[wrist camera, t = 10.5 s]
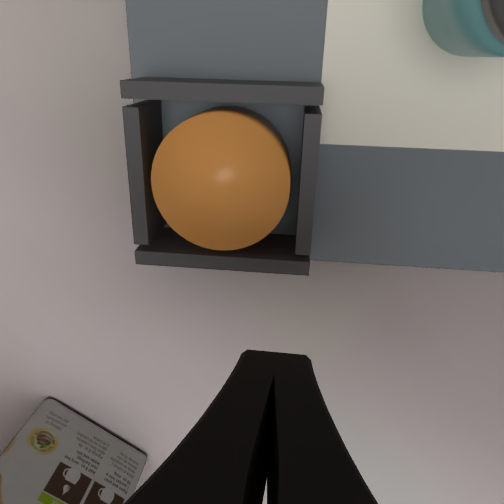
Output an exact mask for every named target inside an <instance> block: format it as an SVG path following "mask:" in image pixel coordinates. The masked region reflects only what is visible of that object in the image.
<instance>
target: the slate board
mask: <svg viewBox="0 0 504 504" xmlns="http://www.w3.org/2000/svg"><path fill="white" fill-rule="evenodd" d="M422 4H423V0H126V12H127V25H128V38H129V51H130V64H131V77H132V79H127V80H120V87H121V98H128V99H133V103H134V104H131V105H127V106H124V107H122V110H123V122H124V133H125V145H126V156H127V168H128V179H129V190H130V202H131V213H132V225H133V236H134V244H139V247H138V248H137V249H136V250H135V259H136V264H143V265H158V266H173V267H188V268H203V269H218V270H233V271H247V272H262V273H277V274H292V275H307V276H309V265H310V260H320V261H335V262H351V263H366V264H382V265H398V266H413V267H429V268H444V269H460V270H475V271H491V272H504V57H464V56H457V55H453V54H451V53H448V52H446V51H444V50H443V49H441V48H440V47H439V46H438V45H436V43H435V42H434V41H433V40H432V39H431V37H430V36H429V34H428V32H427V30H426V27H425V24H424V20H423V13H422ZM220 106H233V107H240V108H244V109H247V110H250V111H252V112H255V113H257V114H258V115H260V116H262V117H263V118H265V119H266V120H267V121H269V122H270V123H271V124H272V125H273V126H274V127H275V128H276V130H277V131H278V132H279V134H280V135H281V137H282V138H283V140H284V142H285V144H286V146H287V149H288V152H289V155H290V160H291V184H290V193H289V200H288V204H287V207H286V210H285V212H284V214H283V216H282V218H281V220H280V221H279V223H278V224H277V225H276V227H275V228H274V229H273V230H272V231H271V232H270V233H269V234H268V235H267V236H266V237H264V238H263V239H261V240H260V241H258V242H256V243H255V244H253V245H250V246H247V247H245V248H241V249H237V250H212V249H208V248H204V247H201V246H198V245H196V244H193V243H192V242H190V241H188V240H186V239H185V238H183V237H182V236H180V235H179V234H178V233H177V232H175V231H174V230H173V229H172V228H171V227H170V226H169V224H168V223H167V222H166V221H165V219H164V218H163V216H162V215H161V213H160V211H159V209H158V207H157V205H156V202H155V200H154V196H153V192H152V186H151V170H152V164H153V160H154V157H155V154H156V152H157V149H158V147H159V146H160V144H161V142H162V141H163V139H164V138H165V137H166V136H167V135H168V133H169V132H171V131H172V130H173V129H174V128H175V127H176V126H178V125H179V124H181V123H182V122H184V121H186V120H187V119H189V118H191V117H193V116H194V115H196V114H198V113H200V112H202V111H204V110H207V109H210V108H214V107H220Z"/></svg>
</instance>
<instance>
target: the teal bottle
mask: <svg viewBox="0 0 504 504" xmlns="http://www.w3.org/2000/svg"><path fill="white" fill-rule="evenodd" d="M422 13H423V20H424V24H425V27H426V30H427V32H428V34H429V36H430V37H431V39H432V40H433V41H434V42H435V43H436V45H438V46H439V47H440V48H441V49H443V50H444V51H446V52H448V53H451V54H453V55H457V56H464V57H504V0H423V4H422Z"/></svg>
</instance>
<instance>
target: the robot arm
mask: <svg viewBox="0 0 504 504" xmlns="http://www.w3.org/2000/svg"><path fill="white" fill-rule="evenodd" d="M266 480H267V504H378V503H377V501H376V500H375V498H374V496H373V495H372V493H371V491H370V490H369V488H368V486H367V485H366V483H365V481H364V480H363V478H362V476H361V474H360V472H359V471H358V469H357V467H356V465H355V463H354V462H353V460H352V458H351V456H350V454H349V452H348V450H347V449H346V447H345V445H344V443H343V441H342V439H341V437H340V435H339V432H338V430H337V428H336V426H335V424H334V422H333V420H332V418H331V416H330V413H329V411H328V409H327V407H326V404H325V402H324V399H323V397H322V394H321V392H320V389H319V386H318V384H317V381H316V378H315V375H314V371H313V368H312V363H311V360H310V359H309V358H308V357H307V356H306V355H299V354H288V353H278V352H267V351H256V350H246V351H245V352H243V353H242V354H241V356H240V358H239V360H238V362H237V364H236V366H235V368H234V370H233V371H232V373H231V375H230V376H229V378H228V380H227V381H226V383H225V384H224V386H223V387H222V389H221V390H220V392H219V393H218V395H217V396H216V397H215V399H214V400H213V402H212V403H211V404H210V406H209V407H208V408H207V410H206V411H205V413H204V414H203V415H202V417H201V418H200V419H199V421H198V422H197V423H196V424H195V426H194V427H193V428H192V429H191V431H190V432H189V433H188V434H187V435H186V437H185V438H184V439H183V440H182V441H181V443H180V444H179V445H178V446H177V447H176V449H175V450H174V451H173V452H172V453H171V455H170V456H169V457H168V458H167V459H166V460H165V461H164V462H163V463H162V465H161V466H160V467H159V468H158V469H157V470H156V471H155V472H154V473H153V474H152V475H151V476H150V478H149V479H148V480H147V481H146V482H145V483H144V484H143V485H142V486H141V487H140V488H139V489H138V490H137V491H136V492H135V493H134V494H133V495H132V496H131V497H130V498H129V499H128V500H127V501H126V502H125V503H124V504H262V502H263V496H264V491H265V485H266Z"/></svg>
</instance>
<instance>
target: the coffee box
mask: <svg viewBox="0 0 504 504" xmlns="http://www.w3.org/2000/svg"><path fill="white" fill-rule="evenodd" d="M146 460H147V457H146V456H145V455H144V454H143V453H141V452H139V451H138V450H136V449H135V448H133V447H131V446H130V445H128V444H126V443H125V442H123V441H121V440H120V439H118V438H116V437H115V436H113V435H111V434H110V433H108V432H106V431H105V430H103V429H101V428H100V427H98V426H97V425H95V424H93V423H92V422H90V421H88V420H87V419H85V418H83V417H82V416H80V415H78V414H77V413H75V412H73V411H72V410H70V409H69V408H67V407H65V406H64V405H62V404H60V403H59V402H57V401H56V400H53V399H46V400H44V401H43V402H42V403H41V405H40V406H39V407H38V408H37V410H36V411H35V412H34V413H33V415H32V416H31V417H30V418H29V420H28V421H27V422H26V423H25V425H24V426H23V427H22V428H21V430H20V431H19V432H18V434H17V435H16V436H15V437H14V439H13V440H12V441H11V442H10V444H9V445H8V446H7V447H6V449H5V450H4V451H3V452H2V454H1V455H0V504H124V503H125V502H126V501H127V500H128V499H129V498H130V497H131V496H132V495H133V493H134V490H135V488H136V485H137V483H138V480H139V478H140V475H141V473H142V470H143V468H144V465H145V463H146Z"/></svg>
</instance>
